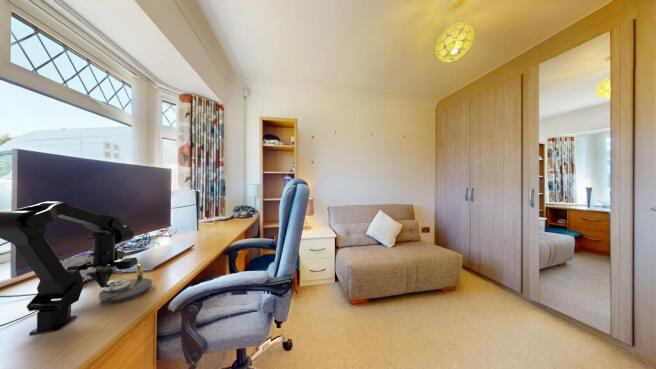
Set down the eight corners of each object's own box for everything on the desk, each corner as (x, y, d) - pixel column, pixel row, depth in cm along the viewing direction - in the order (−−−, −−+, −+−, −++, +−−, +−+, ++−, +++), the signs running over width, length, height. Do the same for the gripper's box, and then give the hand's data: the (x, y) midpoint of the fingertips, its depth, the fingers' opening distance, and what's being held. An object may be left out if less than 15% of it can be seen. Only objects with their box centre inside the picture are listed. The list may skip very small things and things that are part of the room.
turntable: (139, 297, 75) (139, 278, 75) (86, 304, 70) (87, 284, 70) (161, 277, 91) (161, 261, 91) (119, 282, 86) (120, 265, 86)
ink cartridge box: (95, 275, 96) (95, 245, 96) (96, 278, 93) (97, 247, 93) (61, 283, 88) (61, 251, 88) (61, 287, 85) (62, 253, 85)
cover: (122, 291, 76) (123, 284, 76) (99, 294, 74) (99, 287, 74) (134, 283, 83) (134, 276, 83) (112, 285, 81) (113, 278, 81)
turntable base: (137, 300, 75) (137, 297, 75) (92, 306, 71) (92, 303, 71) (155, 284, 88) (155, 281, 88) (117, 288, 84) (117, 285, 84)
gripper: (145, 240, 88) (144, 275, 88) (89, 244, 82) (88, 281, 82) (129, 248, 78) (128, 287, 77) (64, 252, 71) (63, 295, 71)
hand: (103, 287), depth 77 cm, fingers closed
